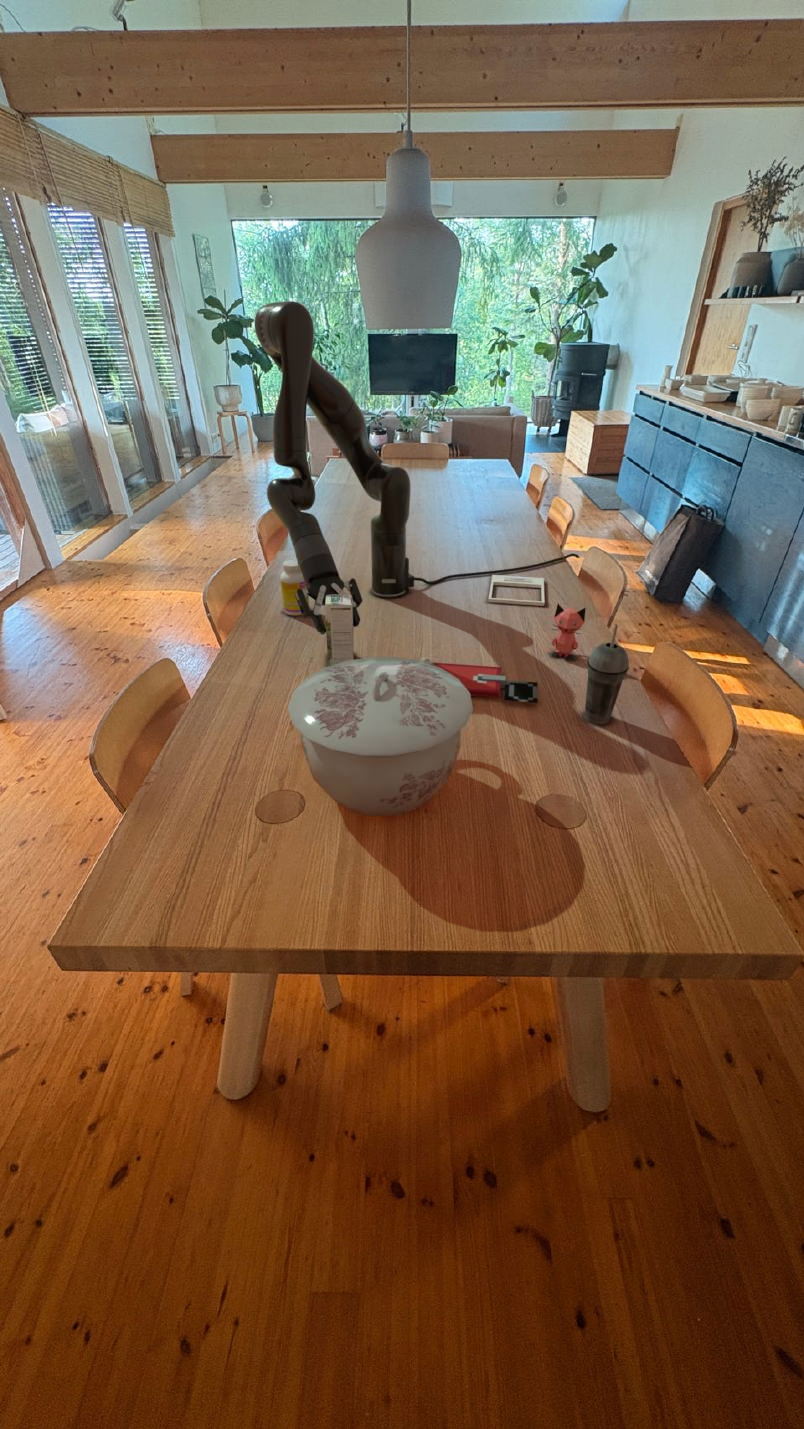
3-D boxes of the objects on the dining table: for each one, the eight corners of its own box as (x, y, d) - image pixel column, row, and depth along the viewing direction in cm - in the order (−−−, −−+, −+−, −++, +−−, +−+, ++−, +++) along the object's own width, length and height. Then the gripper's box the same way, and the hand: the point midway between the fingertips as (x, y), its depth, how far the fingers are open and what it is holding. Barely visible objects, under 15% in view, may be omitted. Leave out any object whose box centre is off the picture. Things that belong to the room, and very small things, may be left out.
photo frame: (543, 577, 178) (544, 602, 163) (543, 581, 178) (544, 606, 163) (492, 574, 180) (488, 598, 165) (492, 577, 180) (488, 602, 165)
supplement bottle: (304, 617, 157) (300, 568, 150) (280, 615, 158) (274, 566, 151) (313, 607, 163) (309, 559, 156) (289, 605, 164) (284, 557, 157)
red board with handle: (537, 712, 120) (536, 675, 132) (538, 699, 118) (538, 663, 131) (384, 699, 124) (398, 665, 137) (384, 687, 123) (398, 654, 135)
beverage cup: (617, 711, 121) (639, 616, 110) (615, 731, 115) (638, 633, 104) (579, 705, 123) (596, 611, 112) (575, 724, 117) (593, 627, 106)
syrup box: (328, 654, 140) (324, 594, 132) (354, 653, 141) (351, 593, 133) (328, 666, 136) (323, 605, 128) (355, 665, 136) (352, 604, 128)
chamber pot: (328, 868, 87) (317, 749, 75) (279, 759, 108) (265, 652, 96) (501, 814, 96) (514, 700, 85) (425, 723, 117) (428, 622, 106)
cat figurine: (545, 658, 139) (552, 608, 132) (550, 645, 144) (557, 597, 138) (577, 664, 137) (586, 613, 130) (581, 650, 142) (590, 601, 136)
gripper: (287, 558, 130) (313, 629, 128) (349, 547, 136) (375, 615, 134) (281, 574, 137) (306, 642, 135) (341, 563, 143) (365, 628, 140)
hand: (340, 629), depth 134 cm, fingers closed on syrup box, 7 cm apart
